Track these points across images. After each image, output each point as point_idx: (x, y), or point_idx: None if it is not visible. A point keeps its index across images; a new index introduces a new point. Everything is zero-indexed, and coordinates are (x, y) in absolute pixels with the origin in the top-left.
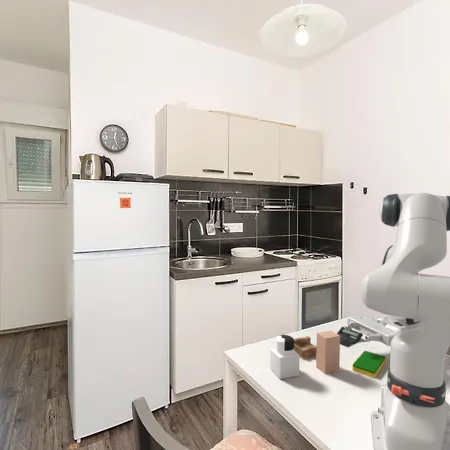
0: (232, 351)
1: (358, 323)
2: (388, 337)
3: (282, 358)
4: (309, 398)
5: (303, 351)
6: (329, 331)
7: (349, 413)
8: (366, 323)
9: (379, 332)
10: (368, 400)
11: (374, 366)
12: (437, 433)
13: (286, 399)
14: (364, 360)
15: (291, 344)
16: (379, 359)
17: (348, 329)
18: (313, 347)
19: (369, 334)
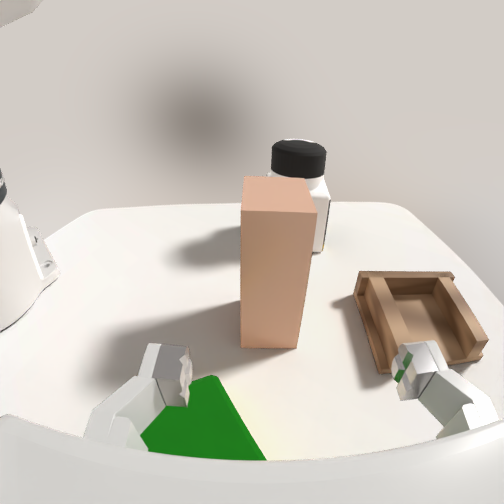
0: (402, 209)
1: (436, 440)
2: (10, 414)
3: (266, 175)
4: (177, 230)
5: (359, 273)
6: (308, 205)
7: (96, 253)
8: (388, 502)
9: (101, 442)
10: (82, 305)
11: (147, 445)
12: None
13: (199, 209)
14: (218, 454)
15: (272, 153)
16: None
17: (394, 366)
18: (388, 311)
19: (168, 372)
